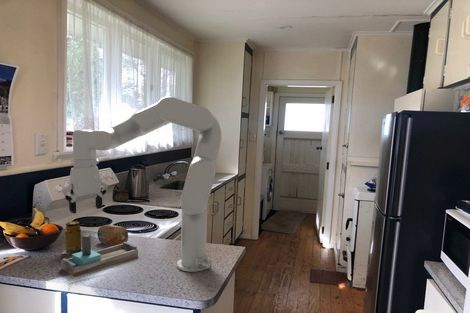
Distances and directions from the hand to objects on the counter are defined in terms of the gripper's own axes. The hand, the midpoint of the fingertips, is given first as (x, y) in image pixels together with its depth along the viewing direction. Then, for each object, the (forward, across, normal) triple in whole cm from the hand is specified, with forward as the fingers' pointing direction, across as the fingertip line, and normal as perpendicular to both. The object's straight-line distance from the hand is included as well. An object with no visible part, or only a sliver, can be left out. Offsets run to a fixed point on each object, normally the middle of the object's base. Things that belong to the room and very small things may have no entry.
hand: (86, 210), depth 130 cm
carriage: (+20, 0, 0) cm, 20 cm away
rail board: (+22, -6, 0) cm, 22 cm away
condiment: (+22, -5, -19) cm, 29 cm away
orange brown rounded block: (+22, -20, -15) cm, 33 cm away
